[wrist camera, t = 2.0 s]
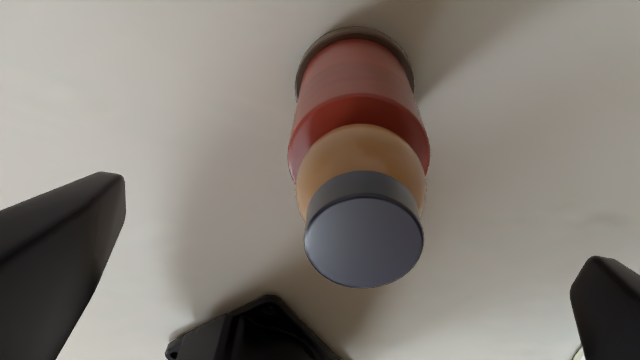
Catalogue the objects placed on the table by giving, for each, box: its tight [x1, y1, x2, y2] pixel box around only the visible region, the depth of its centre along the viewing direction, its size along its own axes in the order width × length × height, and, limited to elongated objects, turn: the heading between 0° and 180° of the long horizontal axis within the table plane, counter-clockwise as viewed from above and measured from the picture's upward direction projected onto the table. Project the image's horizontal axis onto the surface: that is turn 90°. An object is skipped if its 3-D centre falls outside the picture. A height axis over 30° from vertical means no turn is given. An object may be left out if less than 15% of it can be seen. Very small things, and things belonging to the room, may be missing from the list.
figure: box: [288, 27, 430, 288], centre depth 12 cm, size 4×4×8 cm
